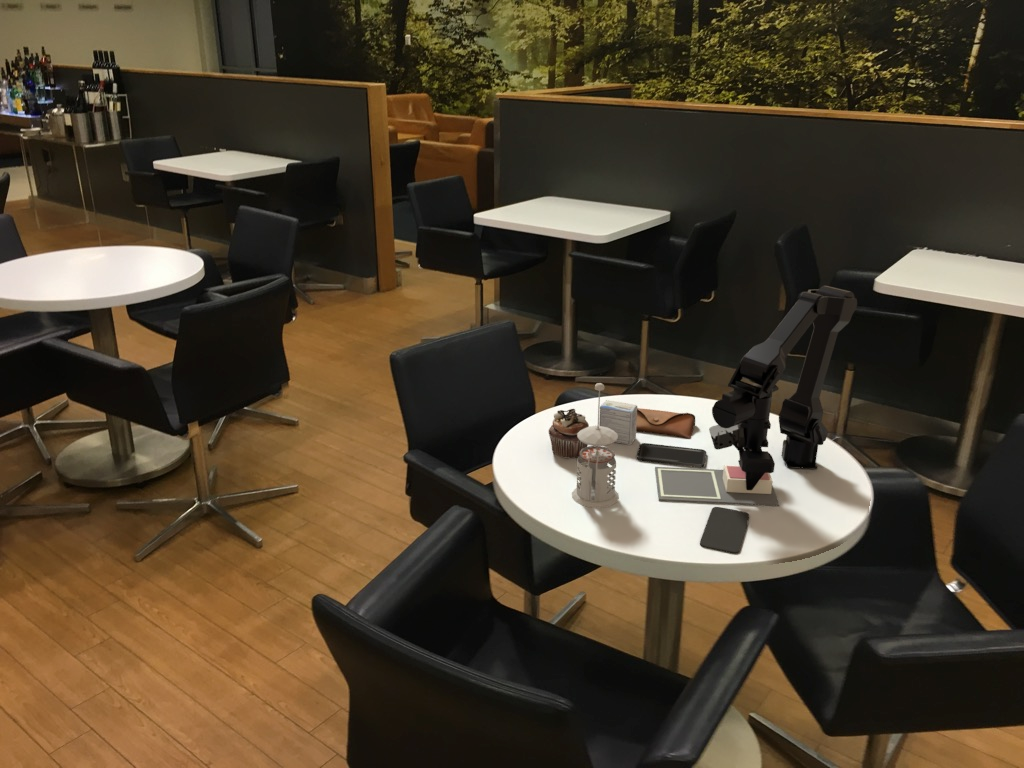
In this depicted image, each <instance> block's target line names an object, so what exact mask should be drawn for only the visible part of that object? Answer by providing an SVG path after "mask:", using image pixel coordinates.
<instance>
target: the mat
mask: <svg viewBox="0 0 1024 768" xmlns="http://www.w3.org/2000/svg"><path fill="white" fill-rule="evenodd" d="M654 471H655V479H656V489H657V496H658V497H657V498H658V501H661V502H677V503H679V502H681V503H698V504H699V503H702V504H705V503H706V504H719V505H720V504H721V505H738V506H739V505H741V506H742V505H743V506H760V507H761V506H763V507H780V506H781V505H780V502H779V499H778V497H777V494H776V491H775V488H774V486H773V485H772V490H771V494H759V493H737V492H726V489H725V485H724V481H723V469H711V468H710V469H709V468H695V467H671V466H670V467H669V466H667V467H666V466H655V467H654Z"/></svg>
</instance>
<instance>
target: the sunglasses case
mask: <svg viewBox="0 0 1024 768" xmlns="http://www.w3.org/2000/svg"><path fill="white" fill-rule="evenodd" d="M695 425H696V416H695V415H694V414H692V413H689V412H684V413H683V412H675V411H674V412H673V411H666V410H658V409H650V408H649V409H648V408H639V407H637V424H636V433H646V434H654V435H655V434H656V435H663V436H669V437H675V438H683V439H691V438H692V435H693V431H694V428H695V427H696V426H695Z"/></svg>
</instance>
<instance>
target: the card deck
mask: <svg viewBox="0 0 1024 768" xmlns="http://www.w3.org/2000/svg"><path fill="white" fill-rule="evenodd" d="M722 470H723V481H724V485H725V489H726V492H737V493H759V494H771V490H772V486H773V483H774V482H773V479H772V476H771V473H765V474H764V475H763V476H762V477H761V479H760V480H759V481H758V483H757V484H756V485H755V487H754V488H753V490H747V489H746V479H745V472H744V471H742V470H741V467H740V465H723V469H722Z"/></svg>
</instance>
